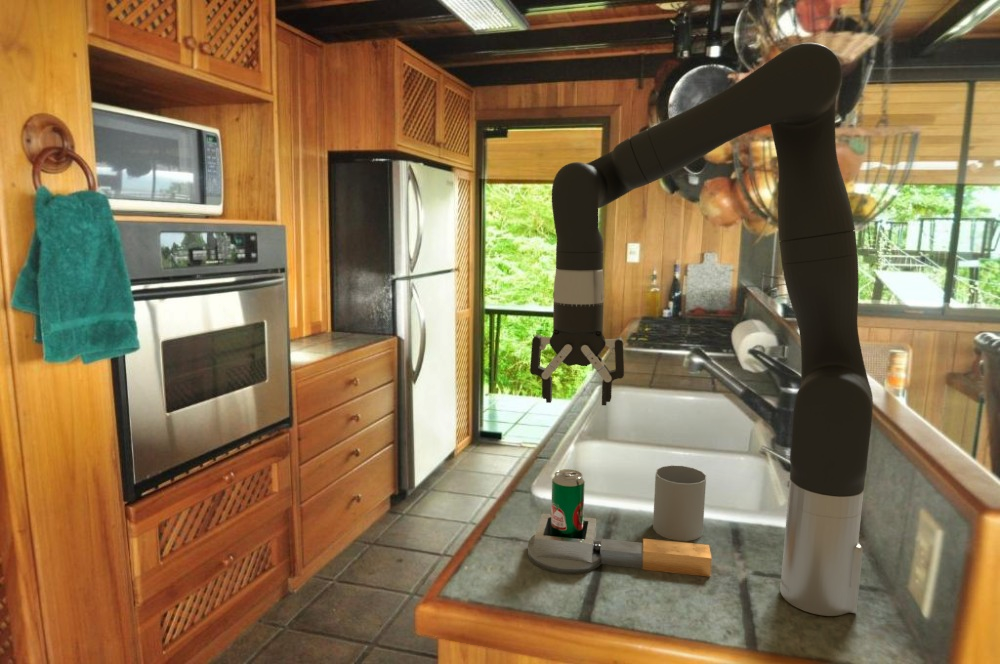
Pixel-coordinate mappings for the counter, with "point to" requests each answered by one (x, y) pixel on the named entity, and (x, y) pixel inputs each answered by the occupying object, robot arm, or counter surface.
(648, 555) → the ratchet
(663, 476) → the cup
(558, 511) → the soda can
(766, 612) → the counter surface
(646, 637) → the counter surface
